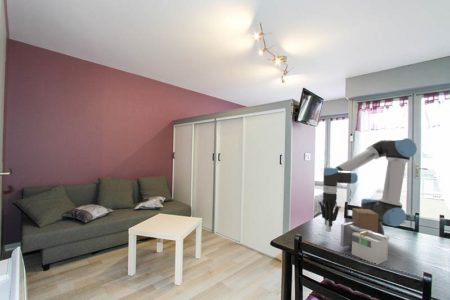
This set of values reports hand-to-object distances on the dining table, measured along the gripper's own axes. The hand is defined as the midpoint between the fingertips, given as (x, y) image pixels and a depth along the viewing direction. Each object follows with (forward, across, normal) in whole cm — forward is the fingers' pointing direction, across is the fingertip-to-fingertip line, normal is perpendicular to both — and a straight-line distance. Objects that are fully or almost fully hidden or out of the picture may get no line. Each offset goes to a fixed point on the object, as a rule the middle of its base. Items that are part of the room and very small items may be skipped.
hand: (328, 231), depth 128 cm
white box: (+5, +23, 0) cm, 23 cm away
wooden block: (+6, +14, +13) cm, 20 cm away
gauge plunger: (+3, +21, 0) cm, 21 cm away
